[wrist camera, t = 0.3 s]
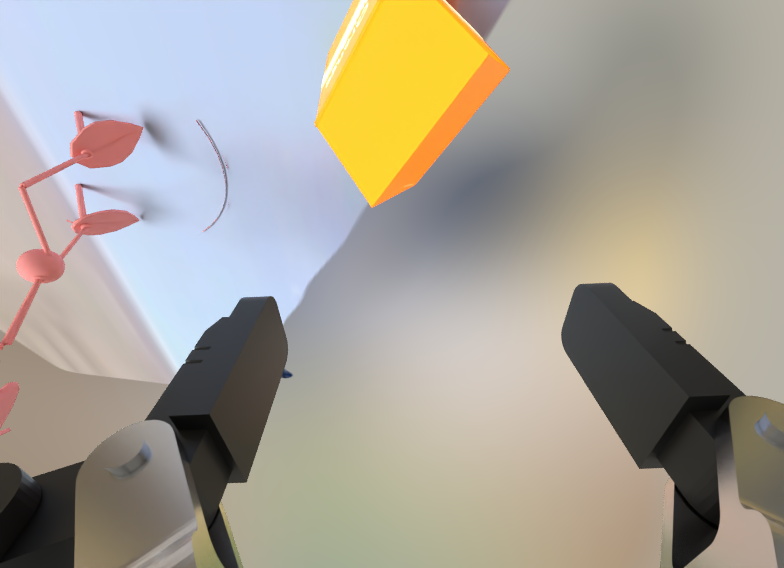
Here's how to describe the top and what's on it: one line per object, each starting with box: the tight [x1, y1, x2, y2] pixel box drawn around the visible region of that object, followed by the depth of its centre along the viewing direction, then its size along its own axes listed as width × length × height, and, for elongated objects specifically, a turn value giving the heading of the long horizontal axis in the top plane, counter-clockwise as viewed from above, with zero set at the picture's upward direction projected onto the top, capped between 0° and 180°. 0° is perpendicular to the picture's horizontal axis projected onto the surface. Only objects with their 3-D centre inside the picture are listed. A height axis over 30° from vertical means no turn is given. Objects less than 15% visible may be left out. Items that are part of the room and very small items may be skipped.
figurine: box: [0, 111, 229, 435], centre depth 26 cm, size 15×26×35 cm, turn 146°
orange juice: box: [315, 0, 509, 208], centre depth 22 cm, size 8×9×20 cm
